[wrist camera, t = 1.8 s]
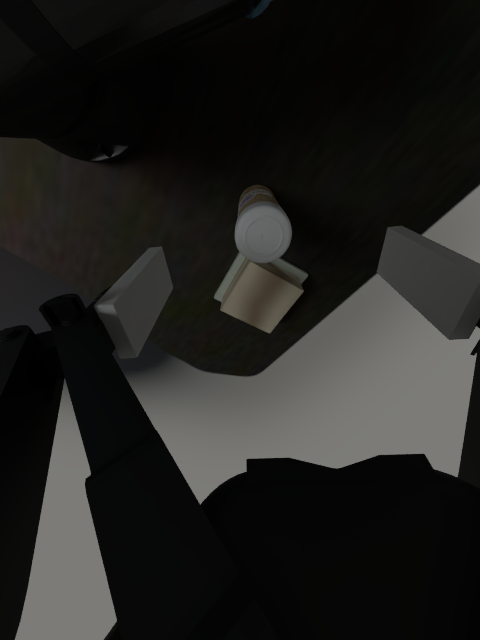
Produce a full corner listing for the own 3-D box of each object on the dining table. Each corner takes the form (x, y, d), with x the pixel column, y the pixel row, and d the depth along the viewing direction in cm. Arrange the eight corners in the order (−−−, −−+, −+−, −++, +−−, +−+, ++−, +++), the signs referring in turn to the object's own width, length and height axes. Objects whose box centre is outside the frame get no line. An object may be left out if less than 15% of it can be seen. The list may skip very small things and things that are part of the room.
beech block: (222, 295, 36) (220, 310, 33) (249, 250, 32) (250, 261, 29) (267, 318, 39) (269, 333, 35) (298, 277, 35) (303, 291, 31)
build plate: (214, 295, 37) (213, 298, 37) (247, 238, 32) (247, 239, 32) (268, 322, 40) (269, 325, 39) (307, 273, 35) (308, 275, 34)
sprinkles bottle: (252, 175, 28) (257, 191, 17) (282, 199, 30) (305, 228, 19) (231, 211, 30) (223, 245, 19) (260, 231, 32) (269, 274, 21)
